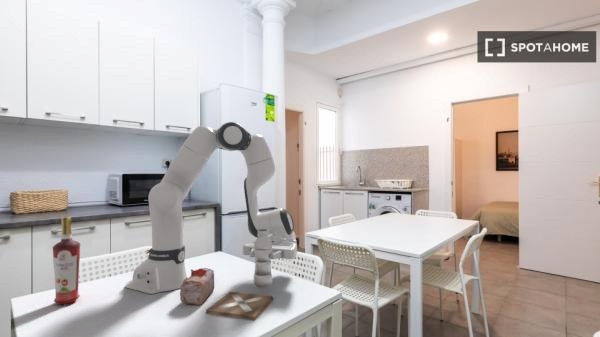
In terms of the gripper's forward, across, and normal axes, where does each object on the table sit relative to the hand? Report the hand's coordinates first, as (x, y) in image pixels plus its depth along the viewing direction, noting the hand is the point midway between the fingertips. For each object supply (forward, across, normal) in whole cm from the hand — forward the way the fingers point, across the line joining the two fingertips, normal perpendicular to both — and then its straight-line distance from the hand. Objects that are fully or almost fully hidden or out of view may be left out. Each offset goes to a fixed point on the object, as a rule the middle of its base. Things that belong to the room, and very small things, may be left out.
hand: (261, 255), depth 110 cm
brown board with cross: (+10, -2, +13) cm, 17 cm away
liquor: (+23, -60, +14) cm, 65 cm away
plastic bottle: (-1, 0, +11) cm, 11 cm away
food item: (+9, -19, +14) cm, 25 cm away
